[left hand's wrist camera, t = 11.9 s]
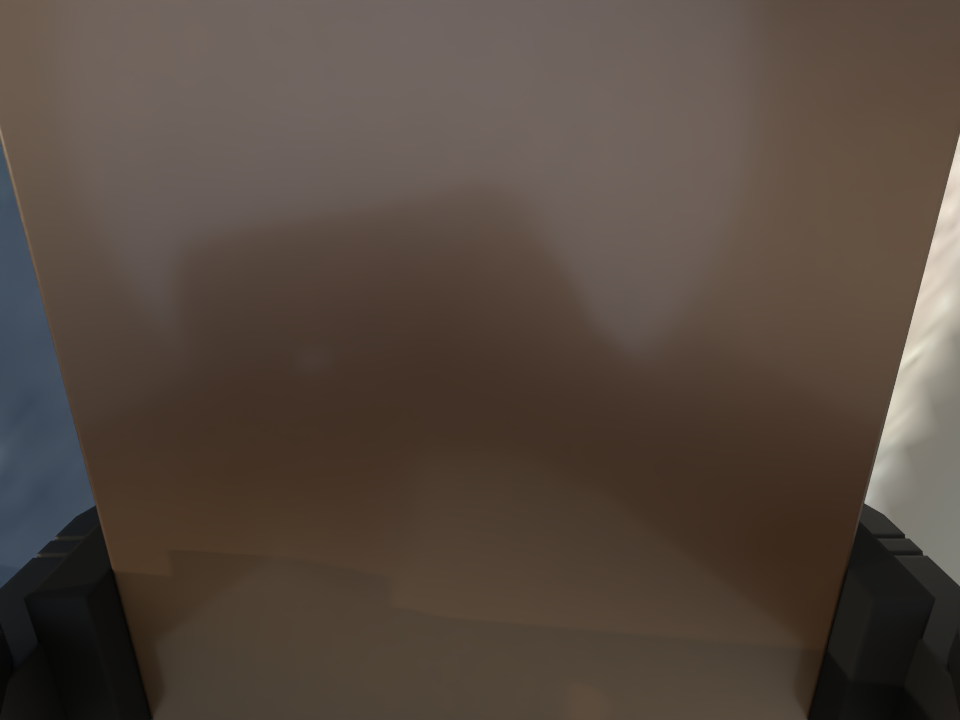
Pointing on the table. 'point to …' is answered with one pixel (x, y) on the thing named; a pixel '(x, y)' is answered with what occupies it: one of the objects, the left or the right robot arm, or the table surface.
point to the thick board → (479, 335)
